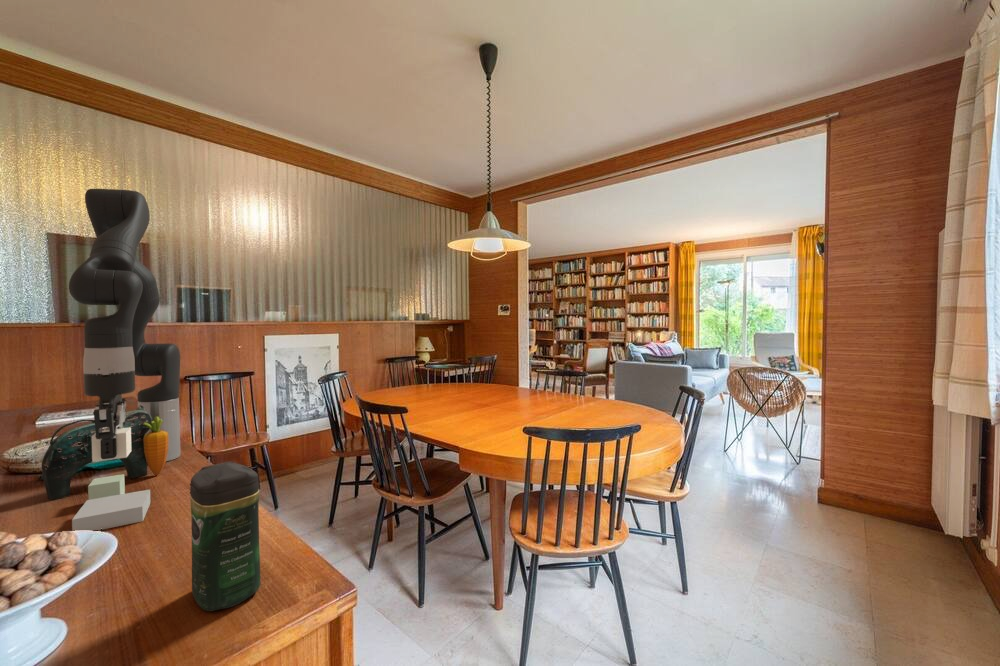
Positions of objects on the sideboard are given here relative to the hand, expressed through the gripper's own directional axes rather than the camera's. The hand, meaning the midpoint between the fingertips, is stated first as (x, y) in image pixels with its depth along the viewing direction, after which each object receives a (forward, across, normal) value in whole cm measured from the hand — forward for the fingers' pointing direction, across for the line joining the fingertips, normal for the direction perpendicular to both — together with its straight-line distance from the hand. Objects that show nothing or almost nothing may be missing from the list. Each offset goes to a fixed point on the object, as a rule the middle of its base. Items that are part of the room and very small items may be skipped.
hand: (112, 453), depth 84 cm
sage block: (+13, -11, -3) cm, 17 cm away
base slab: (+13, 0, 0) cm, 13 cm away
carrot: (+13, -25, +4) cm, 29 cm away
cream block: (0, 0, 0) cm, 0 cm away
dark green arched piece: (+13, -24, -6) cm, 28 cm away
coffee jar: (+13, +40, +19) cm, 46 cm away
